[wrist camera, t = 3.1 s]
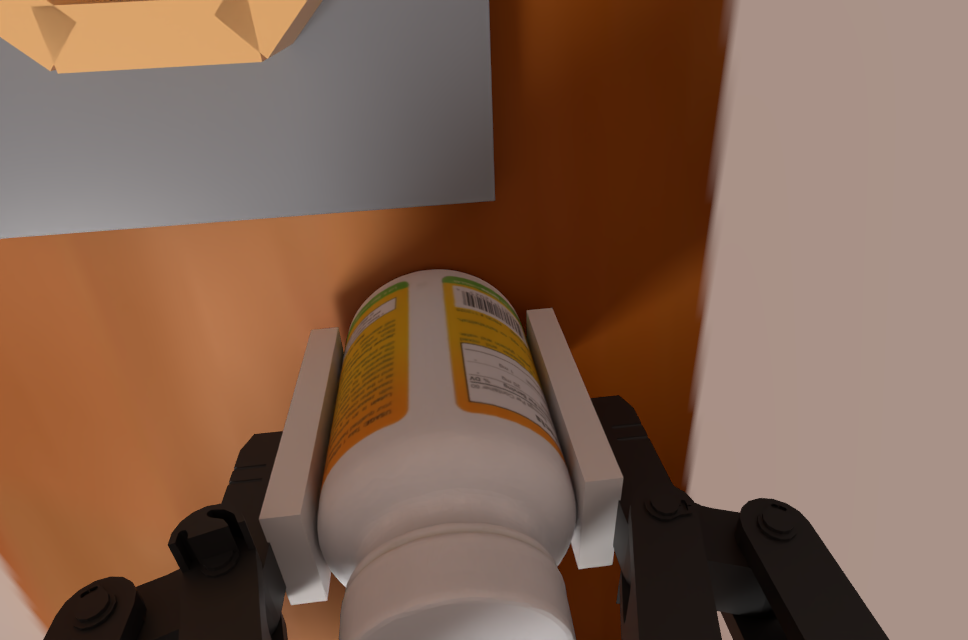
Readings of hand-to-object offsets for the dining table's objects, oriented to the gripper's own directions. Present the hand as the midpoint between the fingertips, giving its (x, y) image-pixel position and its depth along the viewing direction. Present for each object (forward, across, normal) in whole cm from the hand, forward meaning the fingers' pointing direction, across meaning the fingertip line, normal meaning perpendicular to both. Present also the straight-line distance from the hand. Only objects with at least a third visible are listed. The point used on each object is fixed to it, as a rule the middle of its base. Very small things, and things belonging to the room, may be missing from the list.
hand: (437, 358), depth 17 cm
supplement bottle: (+1, 0, 0) cm, 1 cm away
